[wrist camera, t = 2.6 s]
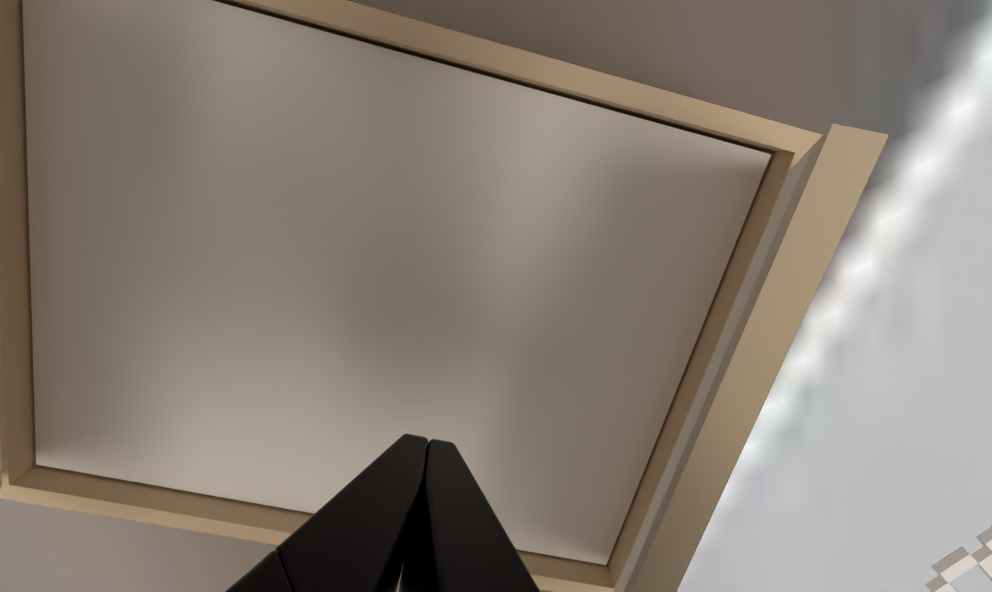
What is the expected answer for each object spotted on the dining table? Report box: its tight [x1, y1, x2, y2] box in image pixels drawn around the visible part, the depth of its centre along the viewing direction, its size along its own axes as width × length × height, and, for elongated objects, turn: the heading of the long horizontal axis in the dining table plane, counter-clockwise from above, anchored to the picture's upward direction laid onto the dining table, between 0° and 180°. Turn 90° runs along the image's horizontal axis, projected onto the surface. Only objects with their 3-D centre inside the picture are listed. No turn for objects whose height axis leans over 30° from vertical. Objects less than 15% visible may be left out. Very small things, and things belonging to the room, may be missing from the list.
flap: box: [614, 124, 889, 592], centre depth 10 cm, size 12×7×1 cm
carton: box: [0, 0, 822, 592], centre depth 15 cm, size 14×18×6 cm
